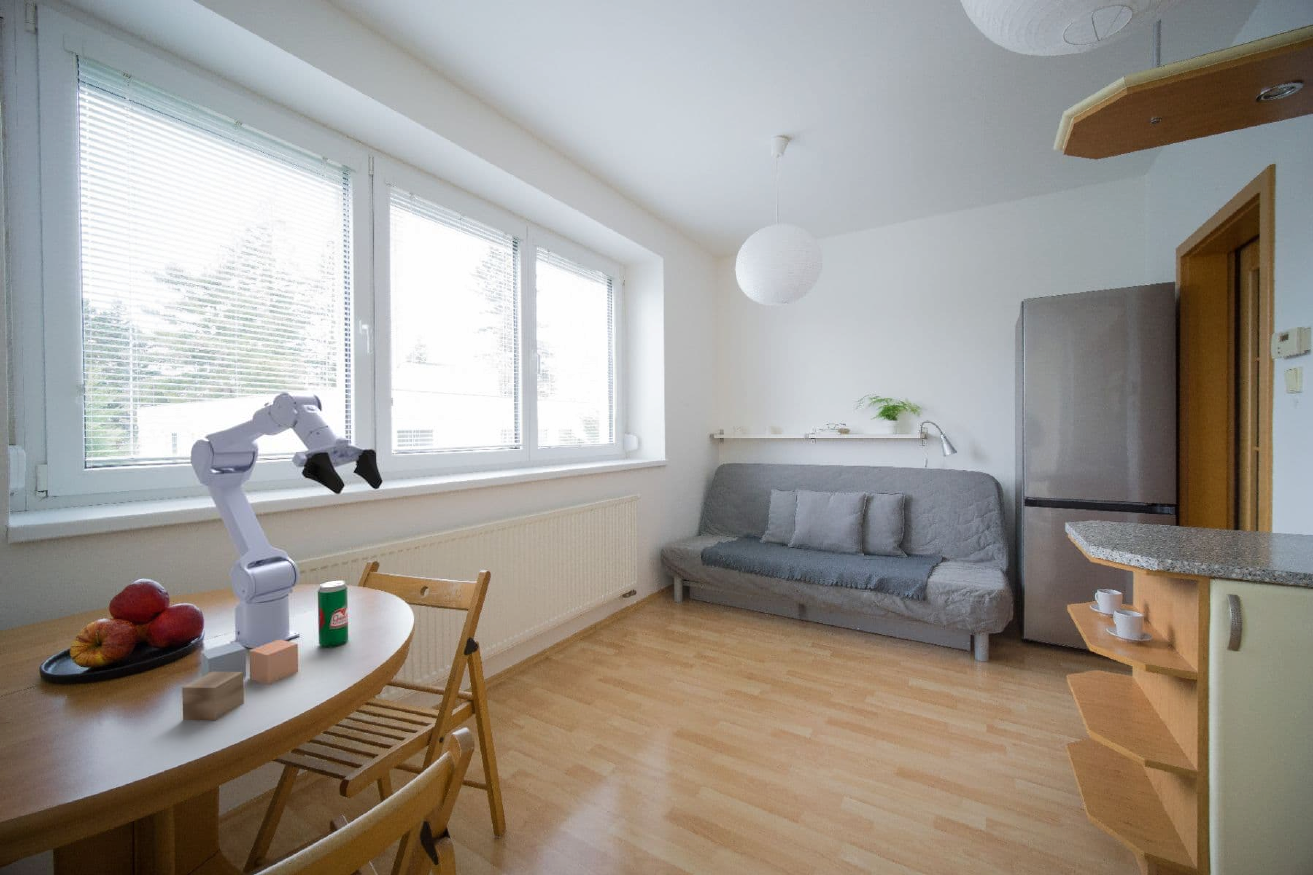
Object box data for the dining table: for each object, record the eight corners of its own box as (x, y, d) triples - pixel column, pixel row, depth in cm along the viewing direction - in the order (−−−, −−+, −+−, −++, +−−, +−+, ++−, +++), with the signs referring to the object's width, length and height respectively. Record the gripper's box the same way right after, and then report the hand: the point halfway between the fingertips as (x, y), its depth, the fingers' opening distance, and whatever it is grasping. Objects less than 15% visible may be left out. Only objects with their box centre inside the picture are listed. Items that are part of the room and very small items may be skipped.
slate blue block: (201, 679, 89) (200, 650, 89) (237, 668, 93) (237, 641, 93) (209, 688, 86) (208, 658, 86) (246, 676, 90) (245, 648, 90)
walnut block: (182, 720, 77) (182, 687, 77) (213, 702, 82) (212, 671, 82) (215, 721, 77) (214, 687, 76) (243, 703, 82) (243, 671, 81)
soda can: (334, 649, 101) (333, 588, 101) (312, 647, 102) (311, 586, 102) (354, 639, 106) (353, 580, 106) (333, 637, 107) (332, 579, 107)
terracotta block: (249, 678, 90) (249, 650, 89) (280, 666, 94) (279, 639, 94) (268, 684, 88) (267, 654, 88) (298, 671, 92) (297, 643, 92)
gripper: (290, 422, 90) (331, 474, 87) (365, 422, 104) (403, 468, 100) (274, 452, 92) (313, 505, 89) (349, 449, 106) (387, 494, 102)
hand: (360, 487), depth 94 cm, fingers open, 7 cm apart
